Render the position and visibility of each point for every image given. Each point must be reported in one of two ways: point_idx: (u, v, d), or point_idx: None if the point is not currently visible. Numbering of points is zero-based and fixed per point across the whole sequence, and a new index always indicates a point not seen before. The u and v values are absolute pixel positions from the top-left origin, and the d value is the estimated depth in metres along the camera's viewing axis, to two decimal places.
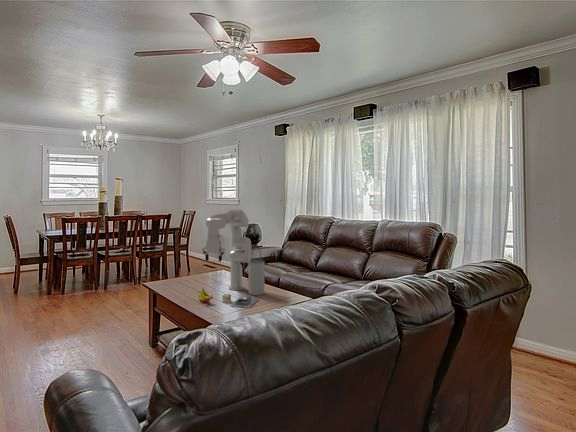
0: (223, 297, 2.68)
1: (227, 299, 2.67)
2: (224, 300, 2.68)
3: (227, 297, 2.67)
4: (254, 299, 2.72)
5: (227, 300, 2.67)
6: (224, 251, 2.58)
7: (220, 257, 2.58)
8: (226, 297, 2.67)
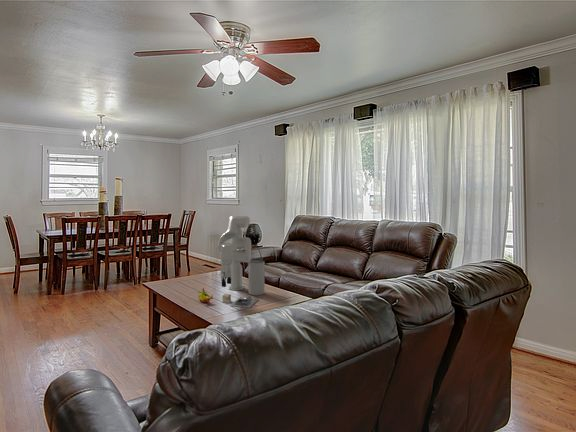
0: (223, 297, 2.68)
1: (227, 299, 2.67)
2: (224, 300, 2.68)
3: (227, 297, 2.67)
4: (254, 299, 2.72)
5: (227, 300, 2.67)
6: (230, 273, 2.76)
7: None
8: (226, 297, 2.67)
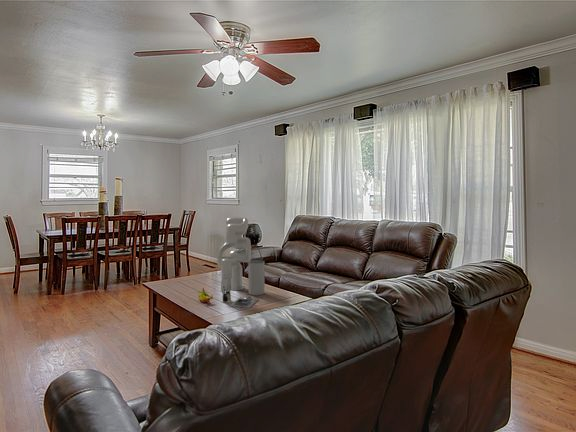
0: None
1: None
2: None
3: None
4: (254, 299, 2.72)
5: None
6: (230, 289, 2.76)
7: None
8: None
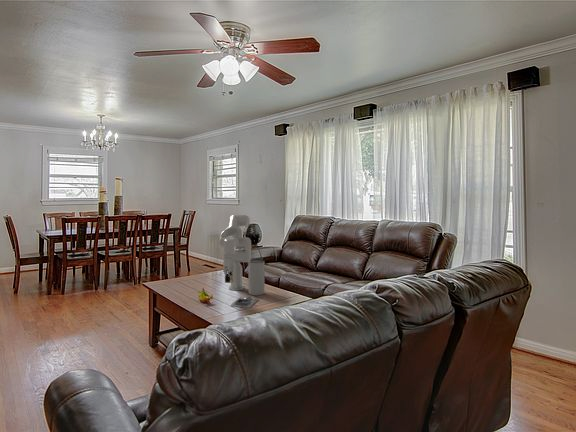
0: None
1: None
2: None
3: None
4: (254, 299, 2.72)
5: None
6: None
7: None
8: None
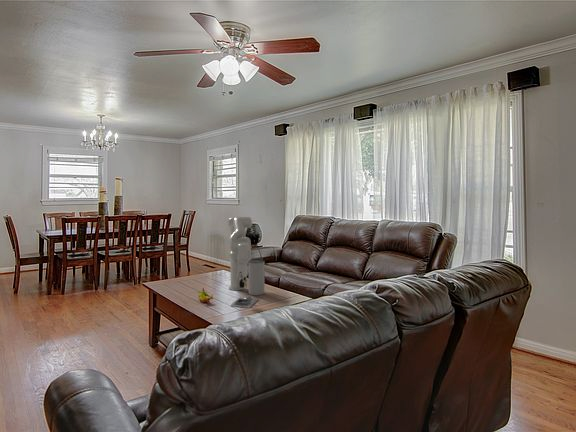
0: None
1: (244, 285, 2.59)
2: None
3: (244, 283, 2.59)
4: (254, 299, 2.72)
5: (244, 286, 2.59)
6: (246, 275, 2.68)
7: None
8: None
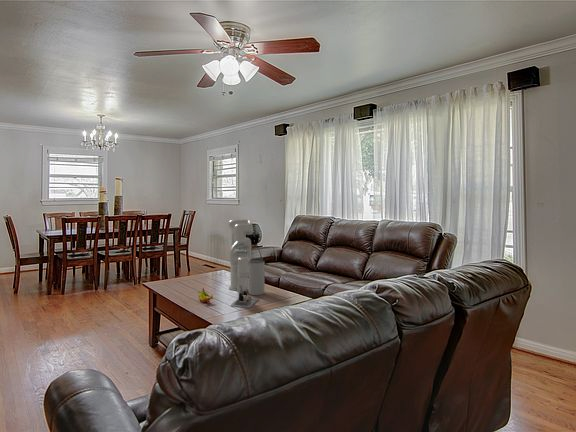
0: None
1: (243, 300, 2.60)
2: (240, 301, 2.61)
3: (243, 298, 2.60)
4: (254, 299, 2.72)
5: (243, 301, 2.60)
6: None
7: None
8: None
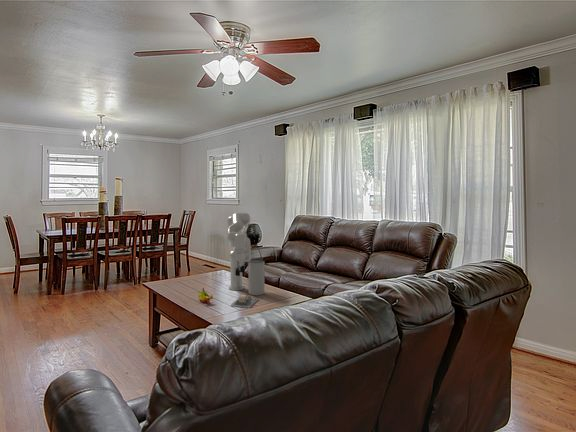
0: (239, 298, 2.61)
1: (243, 300, 2.60)
2: (240, 301, 2.61)
3: (243, 298, 2.60)
4: (254, 299, 2.72)
5: (243, 301, 2.60)
6: None
7: None
8: (242, 298, 2.60)
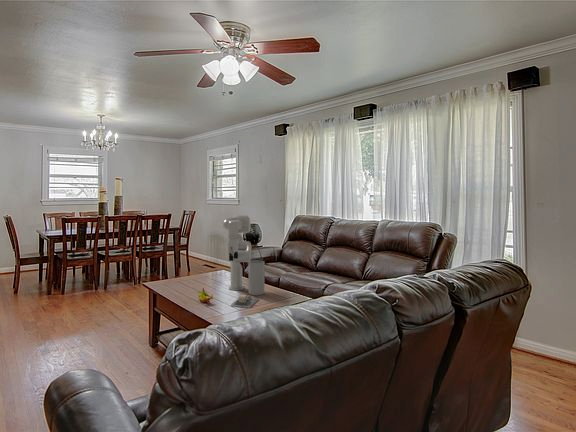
0: (239, 298, 2.61)
1: (243, 300, 2.60)
2: (240, 301, 2.61)
3: (243, 298, 2.60)
4: (254, 299, 2.72)
5: (243, 301, 2.60)
6: None
7: None
8: (242, 298, 2.60)
